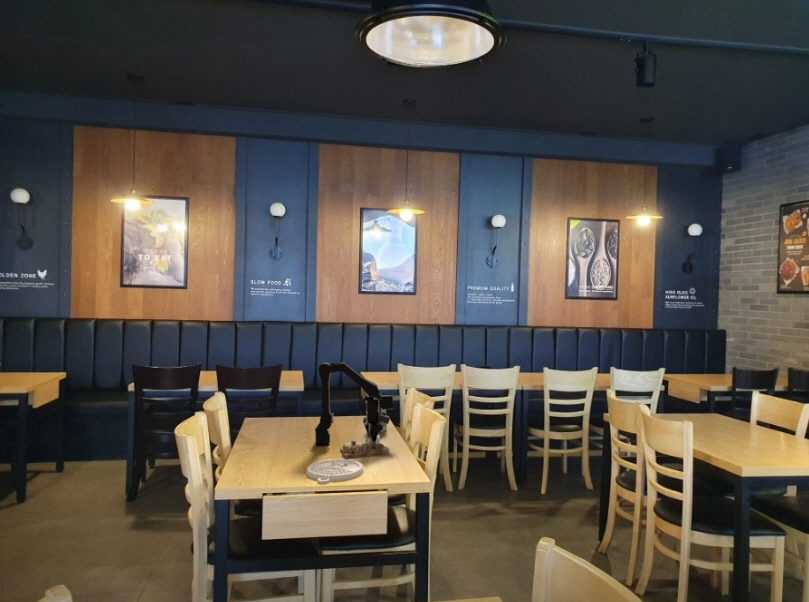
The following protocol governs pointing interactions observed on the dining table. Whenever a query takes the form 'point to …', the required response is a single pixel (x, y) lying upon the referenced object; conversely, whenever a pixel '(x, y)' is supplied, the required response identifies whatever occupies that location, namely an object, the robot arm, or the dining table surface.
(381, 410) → the coffee box
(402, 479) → the dining table surface
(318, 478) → the medallion
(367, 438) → the steel gear
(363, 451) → the gear board
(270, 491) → the dining table surface
